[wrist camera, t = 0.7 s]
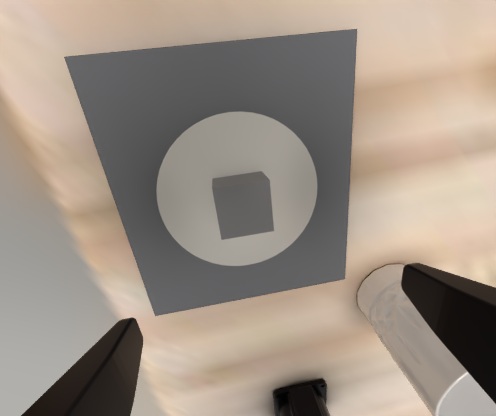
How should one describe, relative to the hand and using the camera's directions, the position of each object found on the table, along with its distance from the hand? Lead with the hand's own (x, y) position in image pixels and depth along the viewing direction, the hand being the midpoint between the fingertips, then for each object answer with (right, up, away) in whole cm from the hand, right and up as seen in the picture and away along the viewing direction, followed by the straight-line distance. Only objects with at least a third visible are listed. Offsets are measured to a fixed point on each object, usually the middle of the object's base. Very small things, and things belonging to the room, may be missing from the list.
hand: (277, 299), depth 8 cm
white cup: (+14, -6, +17) cm, 22 cm away
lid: (-2, +4, +10) cm, 11 cm away
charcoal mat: (-2, +4, +11) cm, 12 cm away
